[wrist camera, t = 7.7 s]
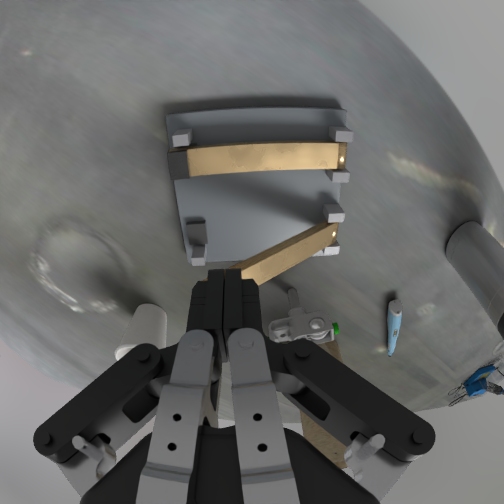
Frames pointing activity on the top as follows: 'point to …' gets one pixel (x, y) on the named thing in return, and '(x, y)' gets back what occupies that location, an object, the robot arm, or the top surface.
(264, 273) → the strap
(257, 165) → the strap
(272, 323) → the mechanical component
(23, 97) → the top surface
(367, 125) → the top surface
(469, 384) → the soldering iron
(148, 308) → the dixie cup
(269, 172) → the mount plate
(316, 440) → the tube
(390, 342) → the 3d printing pen
